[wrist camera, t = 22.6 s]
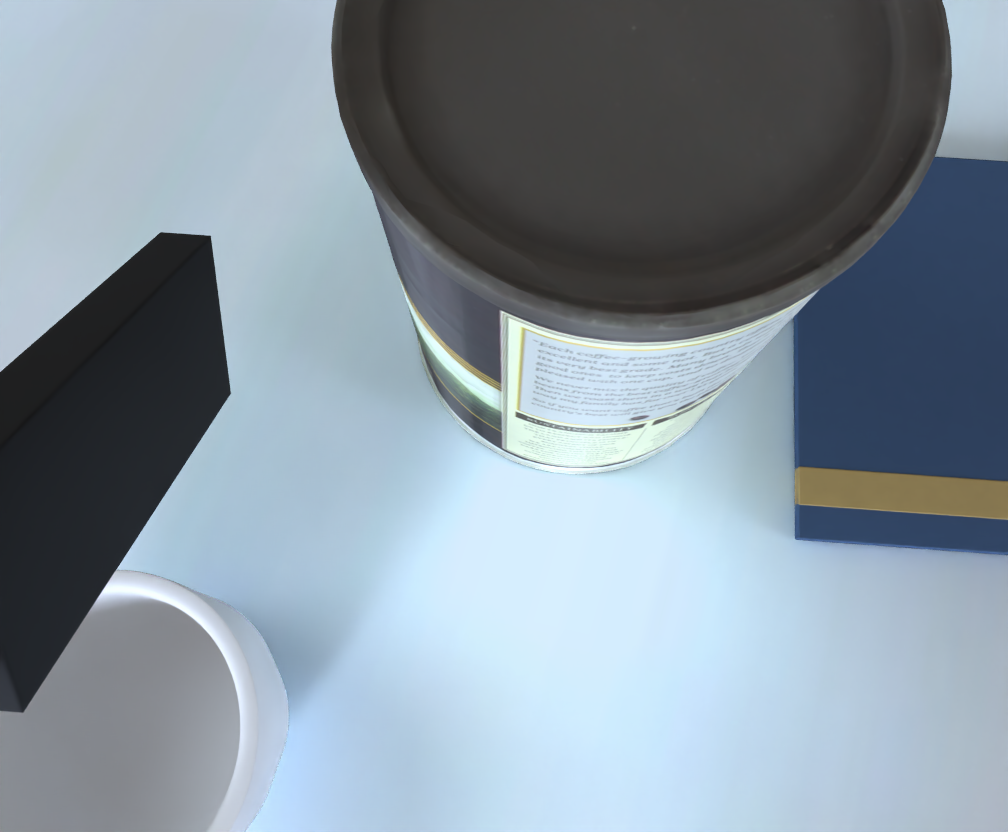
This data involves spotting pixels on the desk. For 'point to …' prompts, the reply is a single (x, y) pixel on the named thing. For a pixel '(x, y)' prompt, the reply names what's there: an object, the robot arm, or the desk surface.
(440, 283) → the coffee can
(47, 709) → the teacup
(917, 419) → the blue flat rectangular block
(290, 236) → the desk surface
